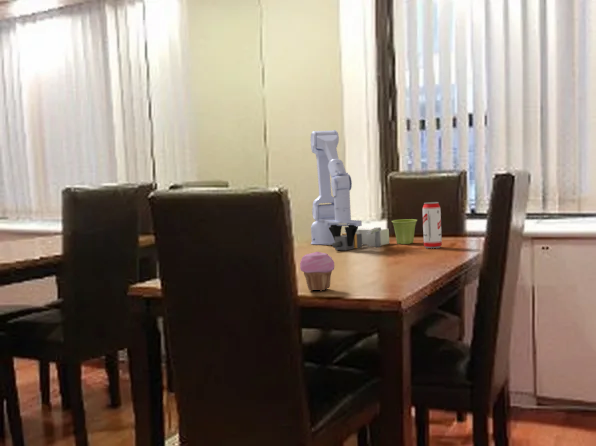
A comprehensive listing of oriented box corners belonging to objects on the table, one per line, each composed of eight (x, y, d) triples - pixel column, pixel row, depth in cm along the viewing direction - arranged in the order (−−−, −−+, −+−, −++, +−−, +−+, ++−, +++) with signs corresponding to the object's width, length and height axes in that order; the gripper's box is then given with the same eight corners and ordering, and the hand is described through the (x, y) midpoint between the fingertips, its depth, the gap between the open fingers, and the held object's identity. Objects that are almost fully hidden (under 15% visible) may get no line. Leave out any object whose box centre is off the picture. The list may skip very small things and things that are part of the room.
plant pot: (419, 244, 275) (418, 220, 274) (393, 245, 275) (393, 222, 274) (416, 241, 284) (415, 218, 283) (391, 242, 284) (390, 220, 284)
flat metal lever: (372, 234, 261) (372, 231, 261) (365, 234, 262) (365, 231, 262) (381, 230, 274) (381, 227, 274) (374, 230, 275) (374, 227, 275)
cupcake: (328, 294, 184) (326, 254, 184) (296, 293, 188) (294, 254, 187) (340, 287, 193) (338, 249, 192) (308, 287, 196) (306, 249, 195)
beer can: (441, 246, 266) (439, 201, 264) (442, 248, 259) (441, 202, 258) (423, 247, 266) (421, 202, 265) (424, 249, 260) (422, 203, 259)
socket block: (342, 245, 282) (341, 230, 281) (358, 242, 290) (357, 227, 290) (379, 247, 272) (378, 231, 272) (393, 243, 281) (393, 228, 280)
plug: (328, 251, 267) (327, 236, 267) (350, 246, 279) (349, 232, 278) (341, 251, 264) (340, 237, 263) (363, 246, 275) (362, 232, 275)
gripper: (319, 209, 270) (321, 246, 271) (353, 209, 261) (355, 247, 263) (330, 207, 276) (332, 244, 277) (364, 207, 267) (365, 245, 268)
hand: (344, 245), depth 270 cm, fingers closed on plug, 5 cm apart
